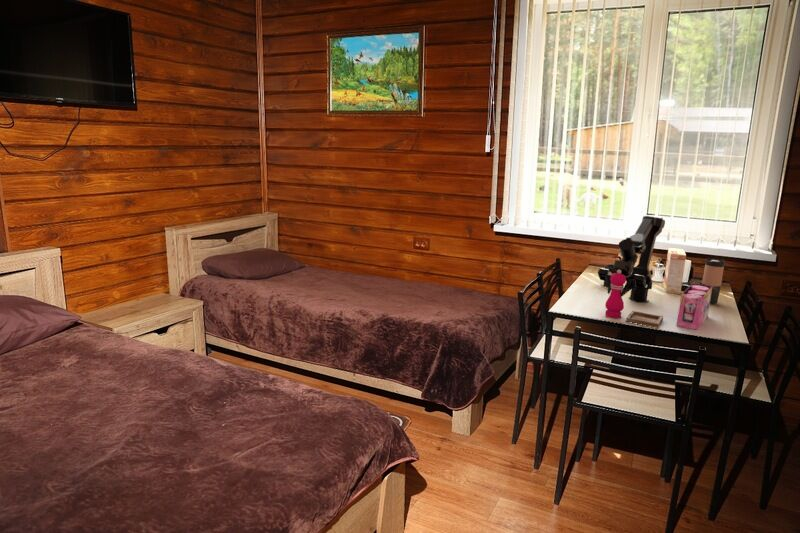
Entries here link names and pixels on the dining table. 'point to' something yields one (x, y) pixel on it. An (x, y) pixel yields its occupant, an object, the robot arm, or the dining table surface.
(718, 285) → the travel mug
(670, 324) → the dining table surface
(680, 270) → the coffeecake box
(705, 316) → the gum box
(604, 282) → the pen holder
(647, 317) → the walnut tray
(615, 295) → the pepper mill
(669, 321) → the dining table surface
